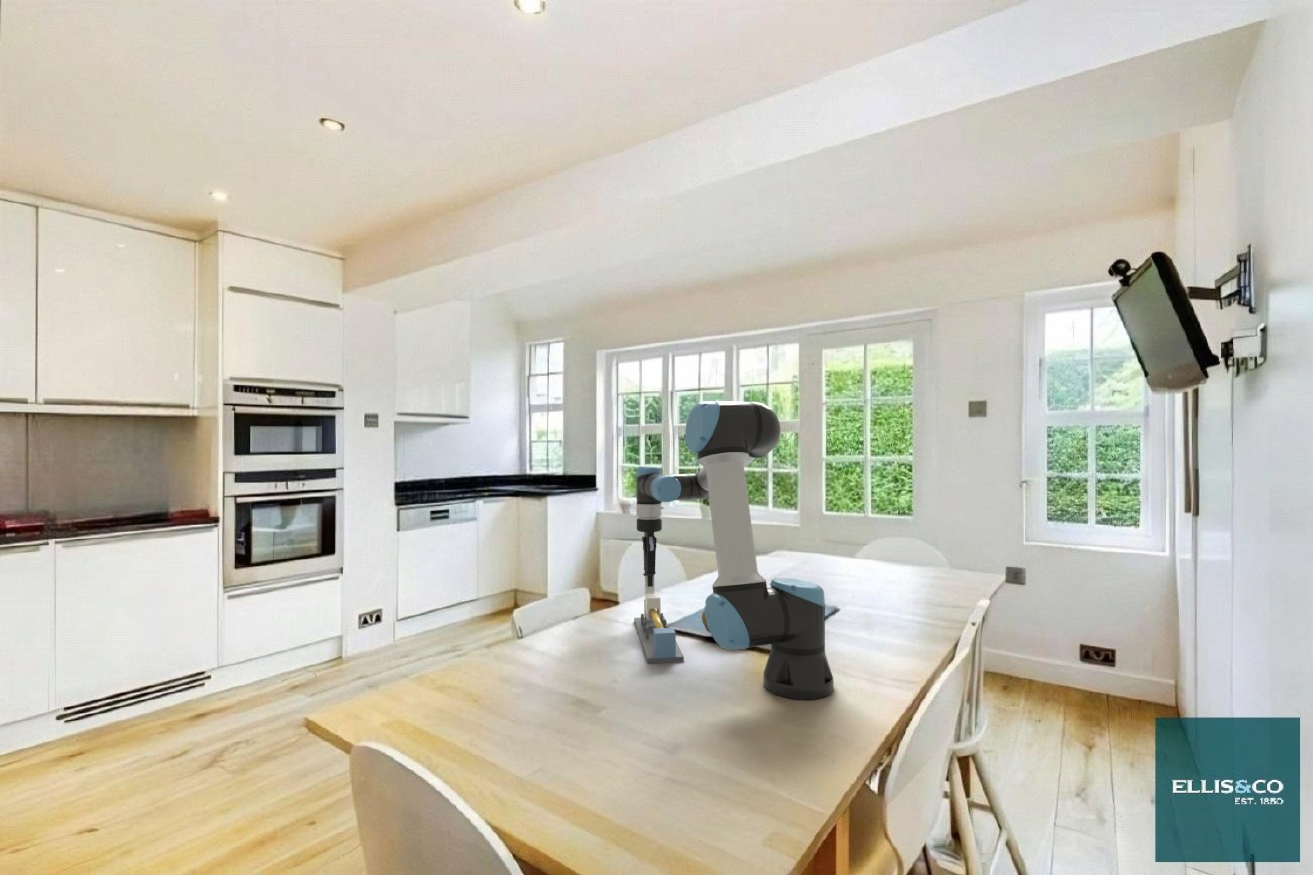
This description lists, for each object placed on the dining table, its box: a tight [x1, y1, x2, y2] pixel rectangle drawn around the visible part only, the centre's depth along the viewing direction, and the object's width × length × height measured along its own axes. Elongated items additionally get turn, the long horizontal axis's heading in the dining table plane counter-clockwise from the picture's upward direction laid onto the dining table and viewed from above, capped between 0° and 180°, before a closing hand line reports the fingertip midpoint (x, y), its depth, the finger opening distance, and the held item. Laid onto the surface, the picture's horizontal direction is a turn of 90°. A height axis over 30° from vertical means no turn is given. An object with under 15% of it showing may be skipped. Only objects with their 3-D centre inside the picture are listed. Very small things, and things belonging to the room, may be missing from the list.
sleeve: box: [644, 593, 662, 621], centre depth 172 cm, size 5×4×6 cm
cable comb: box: [633, 598, 685, 664], centre depth 164 cm, size 34×9×7 cm, turn 8°
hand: (649, 596), depth 180 cm, fingers closed
